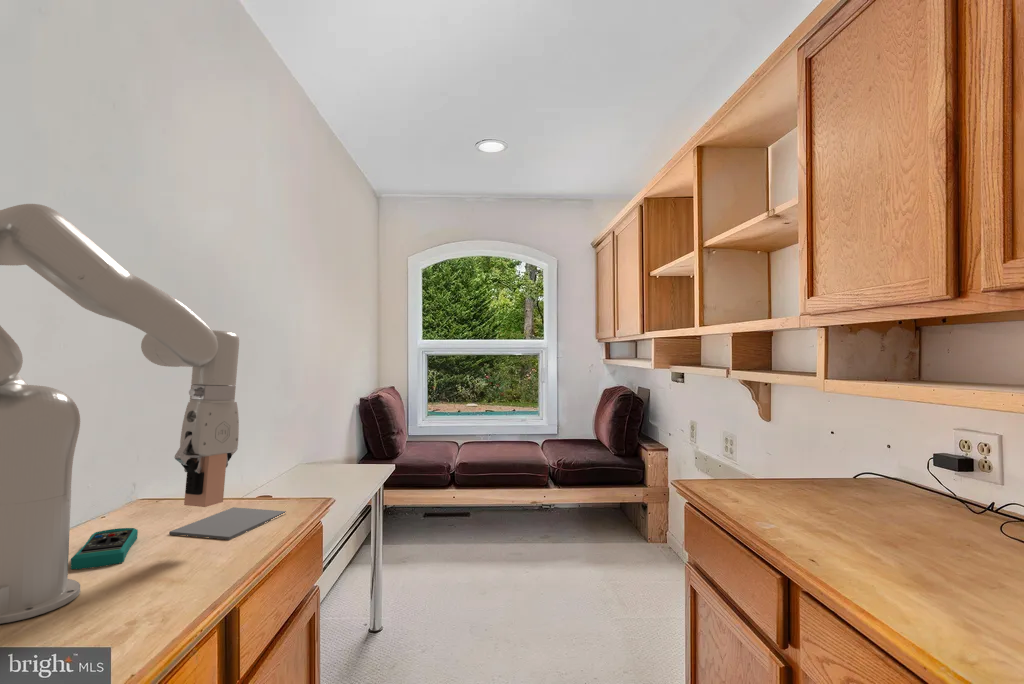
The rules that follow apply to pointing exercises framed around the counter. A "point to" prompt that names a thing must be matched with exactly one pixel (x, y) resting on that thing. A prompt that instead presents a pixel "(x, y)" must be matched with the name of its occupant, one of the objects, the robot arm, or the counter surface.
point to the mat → (227, 523)
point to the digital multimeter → (105, 548)
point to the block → (210, 482)
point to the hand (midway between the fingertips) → (204, 490)
